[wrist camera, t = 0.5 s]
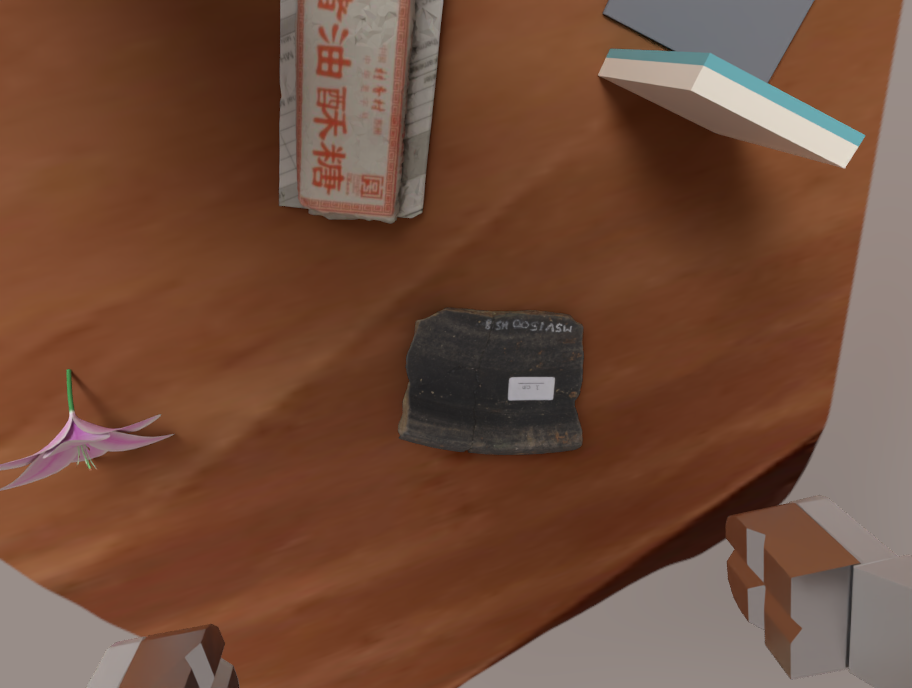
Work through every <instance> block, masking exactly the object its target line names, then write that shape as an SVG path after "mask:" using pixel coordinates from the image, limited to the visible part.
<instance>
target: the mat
mask: <svg viewBox="0 0 912 688" xmlns="http://www.w3.org/2000/svg"><path fill="white" fill-rule="evenodd" d="M813 1H814V0H608V3H607V5H606V7H605V9H604V11H603V14H604V15H606V16H608V17H610V18H612V19H614V20H616V21H617V22H619V23H621V24H623V25H625V26H627V27H629V28H631V29H633V30H635V31H637V32H638V33H640V34H642V35H644V36H646V37H648V38H650V39H652V40H654V41H656V42H658V43H660V44H661V45H663V46H665V47H667V48H669V49H671V50H673V51H677V52H701V53H711V54H713V55H715V56H717V57H719V58H721V59H723V60H724V61H726V62H728V63H730V64H732V65H734V66H736V67H738V68H739V69H741V70H743V71H745V72H747V73H749V74H751V75H753V76H755V77H756V78H758V79H760V80H762V81H764V82H766V83H768V81H769V79H770V78H771V76H772V74H773V72H774V71H775V69H776V67H777V65H778V63H779V62H780V60H781V58H782V56H783V55H784V53H785V51H786V49H787V47H788V46H789V44H790V42H791V40H792V39H793V37H794V35H795V33H796V31H797V30H798V28H799V26H800V24H801V23H802V21H803V19H804V17H805V15H806V14H807V12H808V10H809V8H810V7H811V5H812V3H813Z"/></svg>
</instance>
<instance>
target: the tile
mask: <svg viewBox="0 0 912 688" xmlns="http://www.w3.org/2000/svg"><path fill="white" fill-rule="evenodd" d="M598 76H600V77H602V78H604V79H606V80H608V81H610V82H612V83H614V84H616V85H618V86H620V87H622V88H624V89H627V90H629V91H631V92H633V93H635V94H637V95H639V96H641V97H643V98H645V99H647V100H649V101H651V102H653V103H655V104H657V105H659V106H661V107H663V108H665V109H667V110H669V111H671V112H673V113H675V114H677V115H679V116H682V117H684V118H686V119H688V120H690V121H692V122H694V123H696V124H698V125H700V126H702V127H704V128H706V129H708V130H710V131H712V132H714V133H716V134H720V135H724V136H727V137H731V138H735V139H738V140H742V141H746V142H749V143H753V144H757V145H761V146H764V147H768V148H772V149H775V150H779V151H783V152H786V153H790V154H794V155H797V156H801V157H805V158H808V159H812V160H816V161H819V162H823V163H827V164H830V165H834V166H838V167H841V168H845V167H846V165H847V164H848V162H849V161H850V159H851V158H852V156H853V154H854V153H855V151H856V150H857V148H858V147H859V145H860V143H861V142H862V140H863V139H864V137H865V136H866V135H864V134H862V133H860V132H858V131H856V130H854V129H852V128H850V127H849V126H847V125H845V124H843V123H841V122H839V121H837V120H835V119H834V118H832V117H830V116H828V115H826V114H824V113H822V112H820V111H818V110H817V109H815V108H813V107H811V106H809V105H807V104H805V103H803V102H802V101H800V100H798V99H796V98H794V97H792V96H790V95H788V94H787V93H785V92H783V91H781V90H779V89H777V88H775V87H773V86H771V85H770V84H768V83H766V82H764V81H762V80H760V79H758V78H756V77H755V76H753V75H751V74H749V73H747V72H745V71H743V70H741V69H739V68H738V67H736V66H734V65H732V64H730V63H728V62H726V61H724V60H723V59H721V58H719V57H717V56H715V55H713V54H711V53H701V52H677V51H654V50H630V49H610V51H609V53H608V55H607V57H606V59H605V61H604V63H603V66H602V68H601V70H600V72H599V74H598Z"/></svg>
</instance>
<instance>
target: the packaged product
mask: <svg viewBox="0 0 912 688" xmlns="http://www.w3.org/2000/svg"><path fill="white" fill-rule="evenodd" d="M442 8H443V0H280V88H281V95H282V97H281V100H280V121H279V136H280V165H279V177H280V181H279V206H289V207H297V208H306V209H309V214H312V215H322V216H324V217H326V218H328V219H348V220H355V219H365V220H368V221H371V220H380V221H382V222H386V223H390V224H391V223H394V222H395V220H397V217H402V218H414V217H415V216H417V215H419V214H421V213H422V211H423V202H424V191H425V179H426V167H427V158H428V149H429V140H430V131H431V122H432V111H433V101H434V92H435V82H436V73H437V64H438V51H439V37H440V27H441V18H442Z"/></svg>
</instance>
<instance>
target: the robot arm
mask: <svg viewBox="0 0 912 688" xmlns="http://www.w3.org/2000/svg"><path fill="white" fill-rule="evenodd" d="M726 539H727V540H728V541H729V542H730V544H731V545H732V546H733V547H734V549H735V550H734V551H733V553H732V554H731V556H730V557H729V559H728V560H727V571H728V580H729V584H730V587H731V591H732V594H733V597H734V599H735V601H736V603H737V605H738V607H739V609H740V610H741V612H742V613H743V614H744V616H745V618H746V619H747V621H748V622H749V623H751V624H753V625H755V626H757V627H759V628H761V629H763V630H765V645H766V647H767V648H768V650H769V651H770V652H771V653H772V655H773V656H774V658H775V659H776V660H777V662H778V663H779V664H780V666H781V667H782V668H783V670H784V671H785V673H786V674H787V675H788V677H789V678H790V679H791V680H793V679H798V678H803V677H809V676H814V675H819V674H825V673H830V672H835V671H841V670H845V669H849V672H850V673H851V674H853V675H854V676H856V677H858V678H859V679H861V680H863V681H865V682H866V683H868V684H869V685H871V686H873V687H874V688H912V556H911V555H903V556H897V555H896V554H895V553H894V552H893V551H891V550H890V549H889V548H888V547H887V546H885V545H884V544H883V543H882V542H880V541H879V540H878V539H877V538H876V537H875V536H873V535H872V534H871V533H870V532H869V531H867V530H866V529H865V528H864V527H862V526H861V525H860V524H859V523H858V522H857V521H855V520H854V519H853V518H852V517H851V516H849V515H848V514H847V513H846V512H845V511H843V510H842V509H841V508H840V507H839V506H838V505H836V504H835V503H834V502H833V501H832V500H830V499H829V498H827V497H824V496H821V495H818V496H813V497H809V498H805V499H800V500H796V501H792V502H789V503H788V504H783V505H778V506H773V507H769V508H764V509H759V510H755V511H750V512H745V513H741V514H736V515H731V516H728V519H727V522H726ZM224 645H225V642H224V640H223V637H222V635H221V633H220V630H219V628H218V627H217V626H215V625H213V624H208V625H203V626H197V627H192V628H186V629H181V630H176V631H170V632H165V633H159V634H154V635H149V636H147V637H140V638H135V639H130V640H125V641H120V642H116V643H114V644H113V645H112V646H110V647H109V648H108V649H107V650H106V652H105V654H104V656H103V658H102V659H101V661H100V663H99V665H98V667H97V668H96V670H95V672H94V674H93V676H92V678H91V680H90V681H89V683H88V685H87V687H86V688H239V682H238V678H237V675H236V672H235V669H234V666H233V665H231V664H230V663H228V662H227V661H225V660H223V659H222V658H221V655H222V652H223V649H224Z"/></svg>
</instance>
